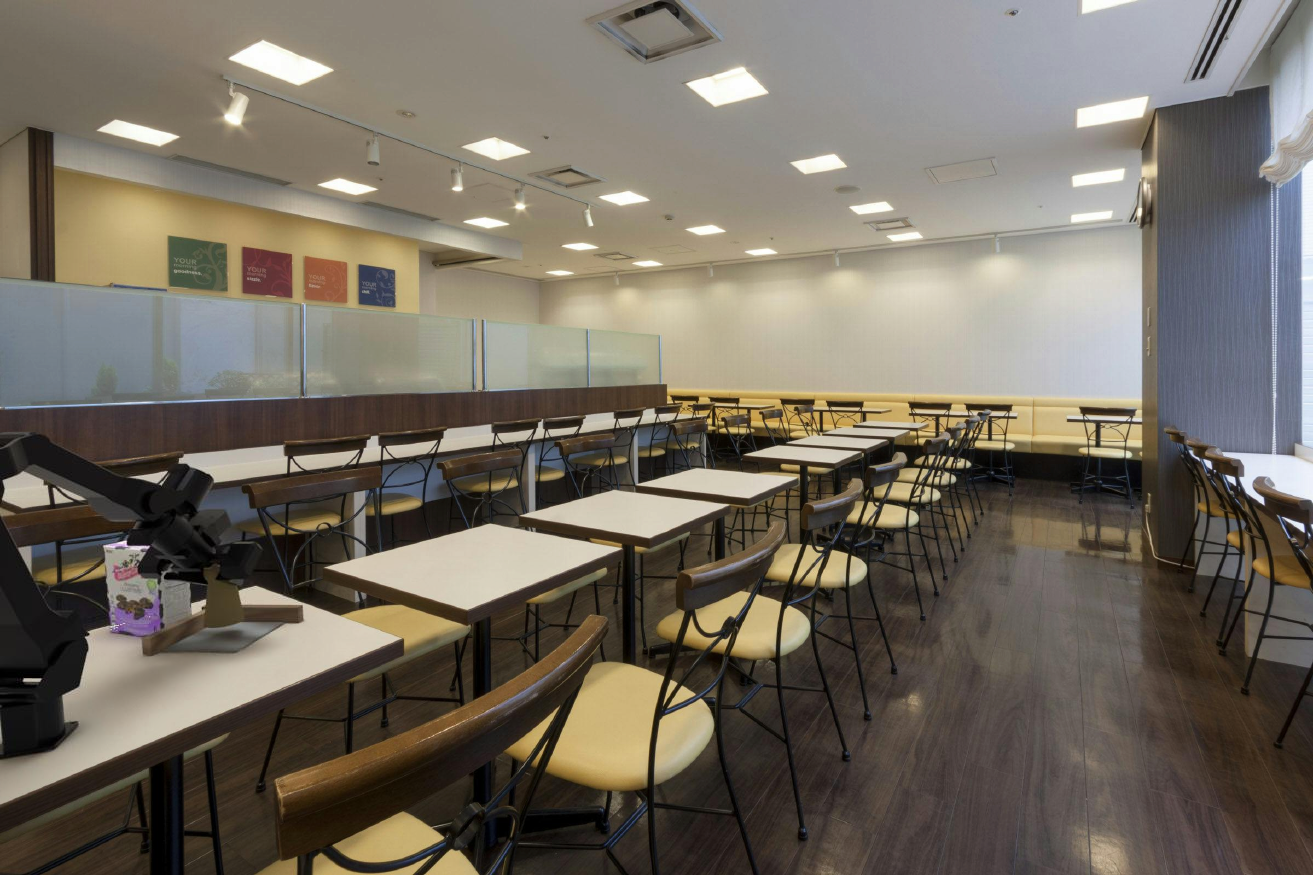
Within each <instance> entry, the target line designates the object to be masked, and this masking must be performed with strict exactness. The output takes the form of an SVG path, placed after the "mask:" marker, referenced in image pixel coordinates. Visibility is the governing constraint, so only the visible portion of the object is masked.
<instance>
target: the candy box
mask: <svg viewBox="0 0 1313 875" xmlns="http://www.w3.org/2000/svg"><path fill="white" fill-rule="evenodd" d="M149 547H150V546H127V539H126V540H121V541H118V542H115V543H109V544H105V545H104V544H103V547H102V548H103V549H102V550H103V558H104V569H105V571H104V572H105V583H106V591H107V592H106V593H107V595H106V596H107V603H108V604H107V605H108V618H109V630H110V629H112V630H110V632H111V633H115V634H117V633H118V634H124V635H130V636H135V637H137V636H138V637H142V638H143V637H145V636H148V635H150V634H152V633H154V632H156V631H158V630H161V629H163V628H165V627H167V626H169V625H171V624H173V623H176V622H178V621H180V620H182V619H184V618H186V617H189V616H191V615H193V614H192V613H193V612H192V597H191V596H192V595H191V594H192V592H191V583H187V582H179V581H171V580H165V579H164V575H165V573H163V572H162V573H163V574H162V576H161V577H160V579H145V578H143V577H142V576H141V575H139V574H138V571H137V566H138V564H139V562H140V561H141V559H142V558H143V556H144V555H145V553H146V551H147V550H148V548H149ZM149 616H150V617H149ZM123 623H125V624H123ZM120 624H122V625H120ZM114 625H119V626H115V627H112V628H110V626H114ZM116 627H118V628H116ZM114 628H115V629H114Z"/></svg>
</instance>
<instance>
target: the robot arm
mask: <svg viewBox="0 0 1313 875" xmlns="http://www.w3.org/2000/svg"><path fill="white" fill-rule="evenodd" d="M22 472H23V473H26V474H28V475H30V476H34V477H36V478H37V479H40V480H42V481H44V482H47V483H49V484H51V485H54V486H56V487H58V488H61V489H63V490H65V491H67V492H69V493H72V494H74V495H77V496H78V497H80V498H81V497H82V498H83V499H84V500H86V501H87V502H88V504H89V507H90V508H91V510H92V511H94V512H95V513H97V514H98V515H99V516H101V517H103V519H106V520H107V521H110V522H116V523H117V522H130V523H131V522H133V523H134V522H136V523H135V525H134V526H133V528H130V529H129V530H128V536H127V538H126V540H127V546H150V547H149V548H148V550H147V551H146V553H145V555H144V556H143V558H142V559H141V561H140V562H139V564H138V566H137V571H138V574H139V575H141V576H142V577H143V578H145V579H160V577H161V576H162V574H163V573H165V575H164V579H165V580H171V581H179V582H187V583H190V584H194V585H201V586H208V581H206V580H205V578H204V574H203V571H204V569H211V568H212V567H213V566H214V564H217V566H218V567H220V568H219V570H220V571H219V573H218V575H217V577H216V579H215V580H216V581H220V582H224V583H228V584H232V585H236V586H237V587H242V586H243V584H244V582H245V580H247V579H248V578H250V577H251V575H252V574H253V571H254V569H255V567H256V565H257V563H258V561H259V559H260V557H261V555H262V553H263V551H264V550H263V548H262V547H261V545H260V544H259V543H258V542H256V541H236V542H233V543H231V545H228V546H226V547H224V548H223V549H216V547H220V545H221V543H222V542H223V541H222V539H221V538H220V537H221V536H222V535H223V533H225V531H226V530H228V529H229V528H231V527H232V526H233V522H232V520H231V518H230V515H229V514H228V511H227V509H225V508H204V509H199V508H200V507H201V505H202V503H203V502H204V501H205V499H206V497H207V495H208V493H209V491H210V490H211V489H212V487H213V485H214V483H215V479H214V477H213V476H212V475H211V474H210V473H207V472H205V471H203V470H201V469H198V468H196V467H192V466H190V465H189V464H188V463H181V462H180V463H176V462H175V463H174V464H173V466H171V469H170V471H169V474H168V475H167V477H166V478H165V479H164V481H163V483H162V484H159V483H157V482H153V481H150V480H145V479H141V478H136V477H129V476H125V475H121V474H118V473H114V472H113V471H110V470H108V469H106V468H105V467H103V466H101V465H99V464H97V463H95V462H93V461H91V460H89V459H87V458H85V457H83V456H82V455H80V454H77V453H75V452H73V451H71V450H69V449H67V448H66V447H63V446H62V445H59V444H57V443H55V442H54V441H52V440H51V439H50V438H49V437H47V436H46V435H45V434H42V433H39V432H37V431H5V432H3V431H2V432H0V506H1V504H2V501H3V497H4V494H5V490H6V487H5V484H4V481H5V480H7V479H8V480H9V479H11V478H13V477H17V476H18V475H20V474H21V473H22ZM162 572H163V573H162ZM90 635H91V634H90V632H89V631H87V630H86V629H85V628H84V626H83V624H82V621H81V616H80V615H79V614H78V613H77V611H75V610H53V609H51V608H50V606H49V605H48V603H47V601H46V598H45V597H44V596H43V594H42V592H41V590H40V588H39V586H38V584H37V582H36V580H35V578H34V576H33V574H32V572H31V571H30V569H29V567H28V565H27V564H26V561H25V559H24V557H23V555H22V554H21V551H20V550H19V548H18V546H17V544H16V542H15V539H14V538H13V536H12V534H11V533H10V531H9V529H8V527H7V525H6V522H5V521H4V518H3V517H2V515H1V514H0V734H1V743H0V759H3V758H7V757H15V756H20V755H26V754H33V753H39V752H45V751H46V752H47V751H50V750H53V749H55V748H56V747H58V745H59V744H60V743H62V742H63V740H65V739H66V738H67V736H69V735H70V734H71V733H72V732H73V731H74V730H75V729H77V727H78V726H79V725H80V724H79V721H78V720H73V721H67V722H65V720H66V719H65V710H64V709H65V708H64V700H63V699H64V698H63V696H64V695H66V694H68V693H70V692H72V691H74V690H76V689H78V688H79V687H80V686H81V681H82V678H83V677H82V676H83V672H84V670H85V669H84V668H85V665H86V660H87V655H88V653H89V651H90V650H89V643H88V639H87V637H90ZM25 679H33V680H34V679H39V680H40V681H24V680H25Z"/></svg>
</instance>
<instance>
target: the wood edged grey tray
mask: <svg viewBox="0 0 1313 875" xmlns="http://www.w3.org/2000/svg"><path fill="white" fill-rule="evenodd" d="M241 605H242V609H243V614H244V618H245V619H244V620H243V621H242V622H240V623H237V624H234V625H231V626H227V627H221V628H206V627H204V617H205V607H206V604H204V605H203V606H201V610H200V611H197V612H196V613H193V614H192V615H191V616H189V617H186V618H184V619H182V620H180V621H178V622H176V623H173V624H171V625H169V626H167V627H165V628H163V629H161V630H158V631H156V632H154V633H152V634H150V635H148V636H145V637H142V638H141V647H142V656H143V655H146V656H147V657H152V656H155V655H156V654H158V653H160V652H162V653H202V654H203V653H209V654H210V653H213V654H214V653H215V654H217V653H219V654H221V653H222V654H231V653H232V654H235V653H238V652H240V651H241V650H243V649H245V648H246V647H248V646H250V645H252V644H253V643H255V642H257V641H258V640H260V639H262V638H263V637H265V636H267V635H269V634H270V633H272V632H273V631H275V630H276V629H278V628H280V627H282V626H283V625H285V624H300V623H301V622H303V621H304V620H305V619H304V605H303V604H241Z"/></svg>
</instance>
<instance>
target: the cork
mask: <svg viewBox="0 0 1313 875" xmlns="http://www.w3.org/2000/svg"><path fill="white" fill-rule="evenodd" d="M219 568H220V567H218V566H217V564H214V566H213V567H212V568H211V569H204V571H203V574H204V578H205V580H206V581H208V585H206V587H207V588H206V599H205V605H206V607H205V617H204V627H206V628H221V627H227V626H231V625H234V624H237V623H240V622H242V621H243V620H244V619H245V618H244V614H243V609H242V605H243V604H242V601H241V596H240V592H239V586H236V585H232V584H228V583H224V582H220V581H216V580H215V579H216V577H217V575H218V573H219V571H220V570H219Z"/></svg>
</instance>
